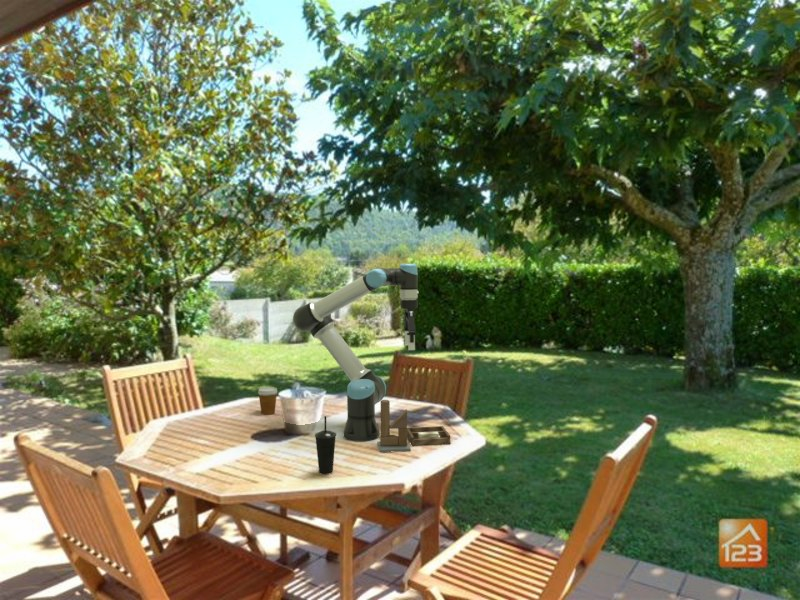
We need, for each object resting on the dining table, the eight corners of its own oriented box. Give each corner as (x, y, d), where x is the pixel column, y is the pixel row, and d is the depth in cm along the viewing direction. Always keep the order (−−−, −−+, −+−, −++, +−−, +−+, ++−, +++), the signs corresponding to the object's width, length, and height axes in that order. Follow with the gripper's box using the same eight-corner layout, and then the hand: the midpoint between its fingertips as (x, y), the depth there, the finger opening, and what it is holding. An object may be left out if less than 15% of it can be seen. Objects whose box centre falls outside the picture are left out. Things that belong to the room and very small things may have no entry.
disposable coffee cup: (254, 413, 287) (254, 389, 286) (271, 409, 293) (271, 386, 292) (264, 417, 280) (263, 392, 279) (281, 413, 286) (281, 389, 285)
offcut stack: (418, 444, 238) (418, 434, 238) (417, 442, 241) (417, 432, 241) (440, 443, 239) (440, 433, 239) (438, 441, 243) (438, 431, 242)
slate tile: (380, 452, 228) (380, 450, 228) (377, 443, 239) (377, 441, 239) (410, 451, 230) (410, 448, 230) (406, 442, 240) (406, 440, 240)
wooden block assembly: (407, 446, 232) (407, 401, 231) (380, 446, 232) (380, 401, 231) (407, 443, 236) (407, 399, 235) (380, 443, 236) (380, 399, 235)
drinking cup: (337, 467, 211) (337, 413, 210) (335, 475, 204) (335, 419, 202) (316, 468, 211) (315, 413, 210) (313, 475, 203) (313, 419, 202)
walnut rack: (411, 446, 236) (411, 437, 235) (406, 435, 250) (406, 427, 249) (450, 444, 238) (450, 435, 238) (442, 434, 252) (442, 426, 252)
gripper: (421, 300, 241) (422, 351, 243) (413, 297, 266) (414, 343, 268) (403, 301, 241) (404, 352, 242) (397, 297, 265) (398, 343, 267)
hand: (409, 347), depth 255 cm, fingers open, 13 cm apart
